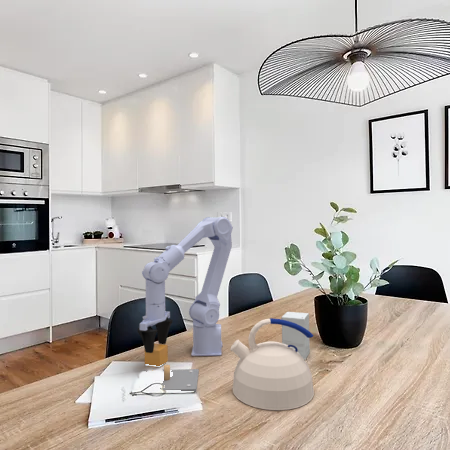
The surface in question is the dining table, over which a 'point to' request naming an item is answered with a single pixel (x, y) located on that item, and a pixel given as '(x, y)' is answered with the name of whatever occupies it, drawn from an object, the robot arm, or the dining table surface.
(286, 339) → the supplement box
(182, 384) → the plate
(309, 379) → the kettle
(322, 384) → the dining table surface
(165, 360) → the orange cube
